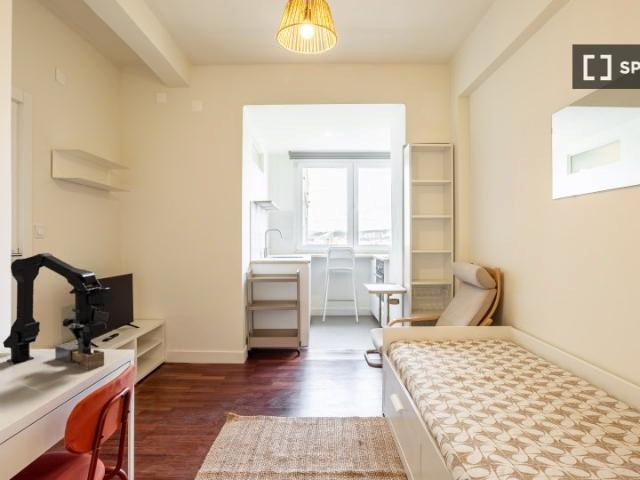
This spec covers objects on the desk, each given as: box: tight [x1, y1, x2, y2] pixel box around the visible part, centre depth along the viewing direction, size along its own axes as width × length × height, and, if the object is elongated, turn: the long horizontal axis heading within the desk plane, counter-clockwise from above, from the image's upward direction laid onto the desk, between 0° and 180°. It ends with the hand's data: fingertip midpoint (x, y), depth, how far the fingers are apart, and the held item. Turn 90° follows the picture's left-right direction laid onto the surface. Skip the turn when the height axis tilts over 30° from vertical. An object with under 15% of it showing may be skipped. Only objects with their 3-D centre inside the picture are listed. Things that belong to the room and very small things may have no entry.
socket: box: [79, 349, 105, 371], centre depth 135 cm, size 6×5×5 cm
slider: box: [71, 337, 94, 363], centre depth 140 cm, size 15×3×9 cm, turn 61°
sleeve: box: [54, 342, 78, 364], centre depth 143 cm, size 10×5×5 cm, turn 61°
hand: (84, 346), depth 137 cm, fingers closed on slider, 3 cm apart
